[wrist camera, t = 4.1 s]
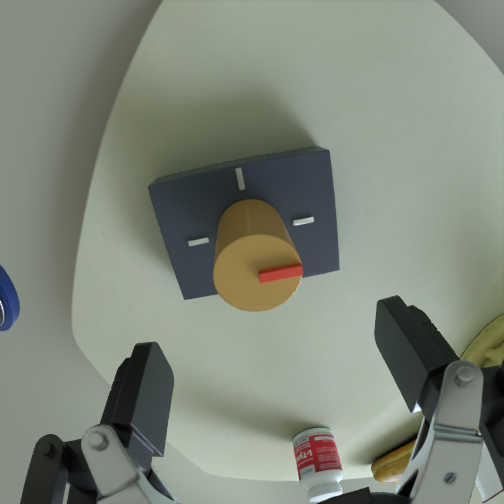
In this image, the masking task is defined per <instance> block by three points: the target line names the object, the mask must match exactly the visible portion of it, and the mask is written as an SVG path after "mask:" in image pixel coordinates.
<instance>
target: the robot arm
mask: <svg viewBox="0 0 504 504" xmlns="http://www.w3.org/2000/svg"><path fill="white" fill-rule="evenodd" d="M5 319H6V310H5V305H4V302H3V300H2V297H1V295H0V326H1V325H2V324H3V323H4V321H5ZM374 335H375V341H376V344H377V347H378V349H379V351H380V353H381V355H382V357H383V358H384V360H385V362H386V364H387V366H388V368H389V370H390V372H391V374H392V376H393V378H394V380H395V382H396V384H397V386H398V388H399V390H400V392H401V394H402V396H403V398H404V400H405V402H406V404H407V406H408V408H409V410H410V412H411V414H412V413H415V412H417V411H420V410H422V412H423V414H424V417H423V420H422V423H421V427H420V430H419V433H418V437H417V440H416V443H415V446H414V449H413V452H412V455H411V457H410V460H409V463H408V465H407V467H406V469H405V471H404V473H403V475H402V477H401V479H400V481H399V483H398V486H397V488H396V490H395V493H386V492H372V493H370V490H369V487H366V488H363V489H360V490H356V491H353V492H350V493H346V494H342V495H338V496H334V497H331V498H329V499H326V500H324V501H322V502H320V503H317V504H469V502H470V498H471V495H472V491H473V488H474V484H475V480H476V477H477V472H478V468H479V463H480V459H481V454H482V448H483V440H484V442H485V445H486V447H487V449H488V452H489V454H490V456H491V459H492V461H493V464H494V466H495V469H496V471H497V474H498V477H499V479H500V482H501V485H502V488H503V491H504V359H503V361H502V363H501V365H497V366H491V367H485V368H479V367H478V366H477V365H476V364H475V363H473V362H471V361H467V360H460V359H459V358H458V356H457V355H456V353H455V352H454V351H453V349H452V348H451V347H450V345H449V344H448V343H447V341H446V340H445V339H444V337H443V336H442V335H441V333H440V332H439V331H437V328H436V327H435V325H434V324H433V323H431V320H430V319H429V318H428V316H427V315H426V314H425V313H424V312H423V311H422V310H420V309H418V308H417V307H415V306H413V305H411V306H408V307H407V305H406V304H405V303H404V301H403V300H402V299H401V298H400V297H399V296H398V295H396V296H392V297H389V298H385V299H381V300H378V302H377V308H376V320H375V331H374ZM114 380H115V381H113V384H112V387H111V389H112V390H111V391H110V393H109V396H108V399H107V402H106V406H105V409H104V412H103V415H102V418H101V421H100V424H98V425H95V426H92V427H91V428H90V429H88V430H87V431H86V432H85V434H84V436H83V437H82V439H78V440H73V441H68V442H63V441H62V440H61V439H60V438H59V437H57V436H56V435H53V434H48V435H45V436H43V437H42V438H40V439H39V441H38V442H37V443H36V445H35V448H34V452H33V455H32V458H31V462H30V465H29V469H28V472H27V476H26V480H25V484H24V488H23V493H22V498H21V502H20V504H62V503H63V497H64V491H65V486H66V483H68V484H69V485H70V489H69V494H68V500H67V504H181V503H180V502H179V501H178V500H177V499H176V498H175V496H174V495H173V493H172V492H171V491H170V490H169V488H168V487H167V485H166V484H165V483H164V481H163V480H162V478H161V477H160V475H159V474H158V473H157V471H156V470H155V468H154V467H153V465H152V464H151V462H152V456H154V457H156V456H157V457H163V456H164V448H165V440H166V433H167V426H168V419H169V412H170V406H171V399H172V393H173V387H174V376H173V372H172V369H171V367H170V365H169V363H168V361H167V360H166V358H165V356H164V354H163V352H162V350H161V348H160V346H159V345H158V343H157V342H146V343H137V344H136V345H135V346H134V349H133V352H132V355H131V358H126V359H125V360H124V361H123V363H122V364H121V365H120V366H119V368H118V370H117V373H116V376H115V379H114ZM478 429H479V431H480V433H481V435H479V434H478Z"/></svg>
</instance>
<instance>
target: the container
mask: <svg viewBox="0 0 504 504" xmlns="http://www.w3.org/2000/svg"><path fill="white" fill-rule="evenodd" d="M478 434H479V435H481V433H480V431H479V432H478ZM475 482H476V484H477V486H478V489H479V491H480V494H481V496H482V498H483V502H482V503H485V502H487V501H488V500H490V499H491V498H493V497H495V496H496V495H498V494H499V493H500V492H502V491H503V488H502V485H501V482H500V479H499V477H498V474H497V471H496V469H495V466H494V464H493V461H492V459H491V456H490V454H489V452H488V449H487V447H486V445H485V442H484V440H483V448H482V454H481V459H480V463H479V468H478V472H477V477H476V480H475Z"/></svg>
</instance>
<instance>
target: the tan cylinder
mask: <svg viewBox="0 0 504 504" xmlns="http://www.w3.org/2000/svg"><path fill="white" fill-rule="evenodd" d="M302 275H303V269H302V264H301V260H300V257H299V255H298V253H297V251H296V248H295V246H294V244H293V242H292V240H291V238H290V235H289V233H288V231H287V229H286V227H285V225H284V223H283V221H282V218H281V216H280V215H279V213H278V212H277V210H276V209H275V208H274V207H272V206H271V205H270V204H268V203H266V202H264V201H261V200H255V199H247V200H242V201H239V202H237V203H235V204H233V205H231V206H230V207H229V208H228V209H227V210H226V211H225V212H224V213H223V215H222V216H221V218H220V221H219V224H218V231H217V239H216V248H215V256H214V265H213V281H214V285H215V288H216V290H217V292H218V293H219V295H220V296H221V297H222V298H223V299H224V300H225V301H226V302H227V303H229V304H230V305H232V306H233V307H236V308H238V309H241V310H244V311H251V312H260V311H267V310H271V309H273V308H276V307H278V306H280V305H282V304H283V303H285V302H286V301H287V300H289V299H290V298H291V297H292V296H293V294H294V293H295V292H296V290H297V288H298V287H299V284H300V282H301V278H302Z"/></svg>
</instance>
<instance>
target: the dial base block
mask: <svg viewBox="0 0 504 504" xmlns="http://www.w3.org/2000/svg"><path fill="white" fill-rule="evenodd" d="M148 189H149V193H150V196H151V200H152V203H153V207H154V210H155V213H156V217H157V220H158V223H159V226H160V230H161V233H162V236H163V239H164V242H165V245H166V248H167V251H168V254H169V257H170V260H171V263H172V266H173V269H174V272H175V275H176V278H177V281H178V283H179V286H180V289H181V292H182V295H183V297H184V300H187V299H193V298H199V297H204V296H210V295H216V294H219V293H218V292H217V290H216V288H215V285H214V281H213V265H214V256H215V248H216V239H217V231H218V224H219V221H220V218H221V216H222V215H223V213H224V212H225V211H226V210H227V209H228V208H229V207H230V206H231V205H233V204H235V203H237V202H239V201H242V200H247V199H255V200H261V201H264V202H266V203H268V204H270V205H271V206H272V207H274V208H275V209H276V210H277V212H278V213H279V215H280V216H281V218H282V221H283V223H284V225H285V227H286V229H287V231H288V233H289V235H290V238H291V240H292V242H293V244H294V246H295V248H296V251H297V253H298V255H299V257H300V260H301V264H302V269H303V275H302V278H304V277H309V276H313V275H318V274H323V273H328V272H332V271H337V270H339V250H338V234H337V220H336V208H335V197H334V187H333V177H332V168H331V160H330V152H329V150H327V149H324V148H321V147H310V148H303V149H297V150H290V151H284V152H278V153H272V154H266V155H260V156H255V157H250V158H244V159H239V160H234V161H229V162H225V163H220V164H215V165H211V166H206V167H202V168H198V169H193V170H189V171H185V172H181V173H177V174H173V175H169V176H165V177H162V178H158V179H156V180H155V181H154V182H153V183H151V184H150V185H149V186H148Z"/></svg>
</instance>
